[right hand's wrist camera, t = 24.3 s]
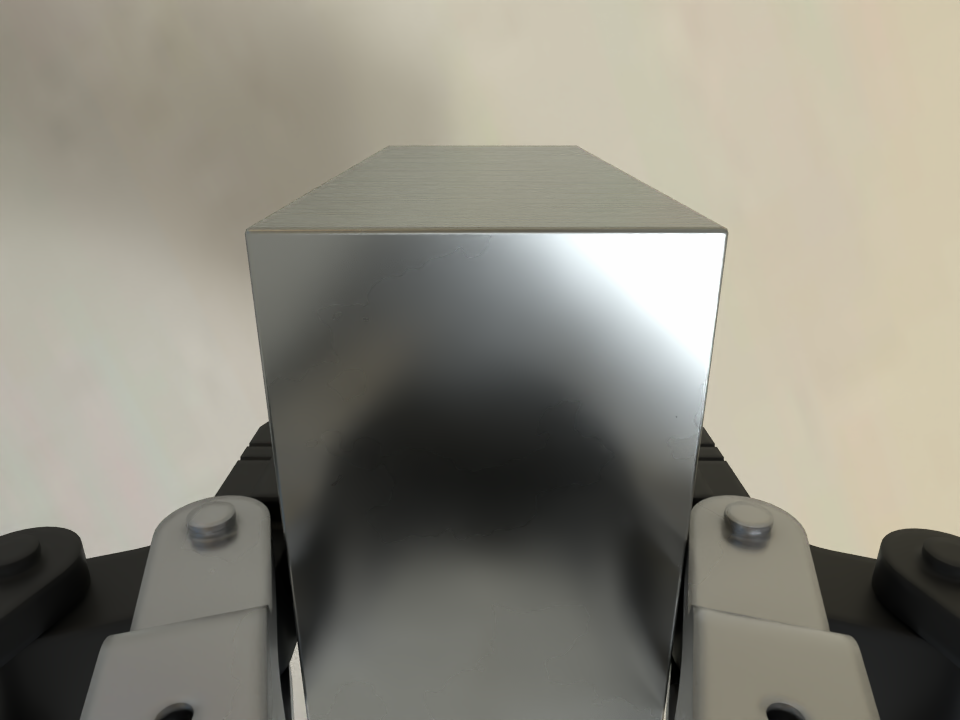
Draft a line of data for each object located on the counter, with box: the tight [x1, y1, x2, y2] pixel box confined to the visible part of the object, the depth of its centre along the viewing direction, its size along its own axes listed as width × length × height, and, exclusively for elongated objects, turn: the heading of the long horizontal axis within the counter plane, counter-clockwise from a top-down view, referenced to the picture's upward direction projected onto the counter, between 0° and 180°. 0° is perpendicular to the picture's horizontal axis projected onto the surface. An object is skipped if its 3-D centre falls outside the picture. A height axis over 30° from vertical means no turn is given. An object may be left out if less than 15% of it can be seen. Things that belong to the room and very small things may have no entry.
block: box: [245, 146, 728, 720], centre depth 12 cm, size 4×9×10 cm, turn 0°
